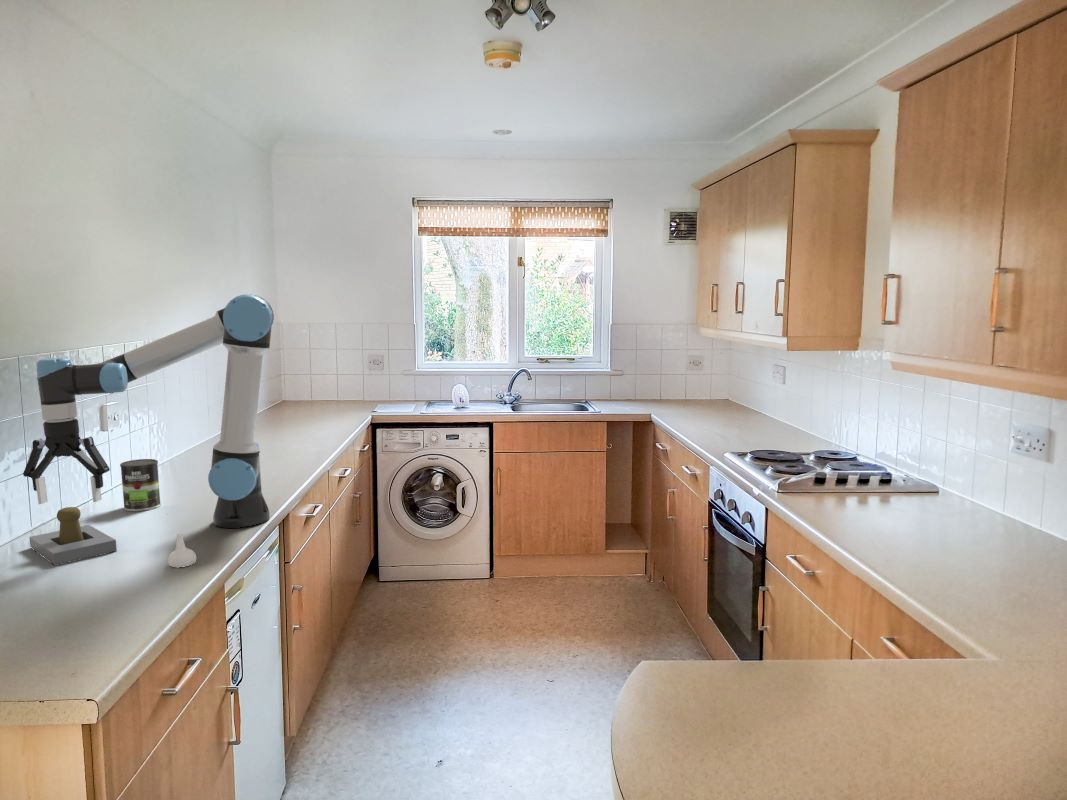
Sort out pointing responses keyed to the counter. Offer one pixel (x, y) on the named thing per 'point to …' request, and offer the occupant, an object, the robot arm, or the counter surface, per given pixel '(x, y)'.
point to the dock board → (73, 545)
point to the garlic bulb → (181, 554)
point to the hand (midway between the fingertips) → (70, 501)
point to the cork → (69, 525)
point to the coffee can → (140, 484)
